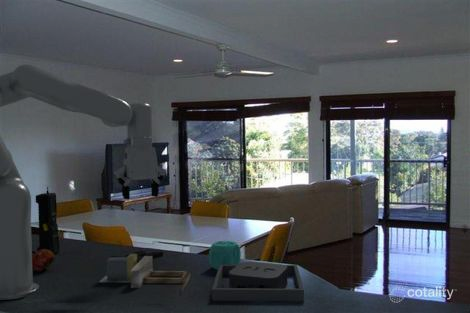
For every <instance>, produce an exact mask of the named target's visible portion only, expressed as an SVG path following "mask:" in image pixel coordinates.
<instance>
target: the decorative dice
mask: <svg viewBox="0 0 470 313" xmlns="http://www.w3.org/2000/svg"><path fill="white" fill-rule="evenodd" d="M241 252H242V251H241V248H240V246H239V244H238V243H237V242H236V241H233V240H219V241H215V242H213V243H212V244H211V246H210V248H209V251H208V262H209V264H210V266H211V267H212V268H213V269H214V270H216V271H218V269H219V266H220V265H239V264H240V263H241V262H240V261H241Z"/></svg>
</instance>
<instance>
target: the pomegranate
mask: <svg viewBox="0 0 470 313" xmlns="http://www.w3.org/2000/svg"><path fill="white" fill-rule="evenodd" d="M55 255H56V254H55ZM55 255H54V254H53V253H52V252H51V251H50V250H47V249H41V250H39V251H38V252H37V251H34V250H32V271H35V272H37V273H41V272H42V271H44V270H46V269H49V270H51V271H52V272H53V271H54V270H53V269H52V267H50V266H51V264H52V263H53V262H54V261H55V257H56V256H55Z"/></svg>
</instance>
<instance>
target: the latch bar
mask: <svg viewBox="0 0 470 313" xmlns="http://www.w3.org/2000/svg"><path fill="white" fill-rule="evenodd" d="M129 254H130V255H129V256H127V257H111V256H110V257H109V258H108V259H107V260H106V276H107V281H131V270H132V269H133V268H134V267H135V266H136V265H137V254H132V253H129Z"/></svg>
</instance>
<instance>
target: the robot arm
mask: <svg viewBox="0 0 470 313" xmlns="http://www.w3.org/2000/svg"><path fill="white" fill-rule="evenodd" d="M28 98H32V99H35V100H38V101H41V102H43V103H46V104H48V105H51V106H53V107H56V108H58V109H61V110H63V111H67V112H70V113H71V112H72V113H80V114H84V115H88V116H92V117H95V118H96V119H97V118H98V119H100V120H101V122H102V123H103V124H104V125H105V126H107V127H111V128H118V127H125V126H127V127H126V130H127V131H126V132H127V134H126V135H127V137H126V139H123V145H126V146H127V147H125V150H124V157H123V165H122V167H120V168H118V169H117V170H115V171H114V172H113V173H112V174H113V176H114V178H115V179H116V182H118V183H119V185H120V186H121V196H122V197H123V200H129V199H130V198H131V197H130V195H131V194H130V193H131V192H130V186H129V184H130V182H131V181H139V180H141V181H142V180H150V181H151V182H152V183H151V184H150V186H151V187H150V188H151V192H150V193H151V196H152V197H156V198H157V197H159V193H160V191H159V190H160V187H159V186H160V185H159V184H160V183H161V181H162V180H163V179H164V176H165V174H166V169H165V168H163V167H161V166H159V165H158V157H157V152H156V148H155V147H153V128H152V127H153V125H152V124H153V122H152V121H153V119H152V118H153V117H152V116H153V114H152V106H151V104H149V103H145V102H141V103H140V102H137V103H135V102H134V103H130V104H129V103H128V102H126V101H124V100H123V99H120V98H119V97H118V98H117V97H115V96H114V95H111V94H108V93H105V92H103V91H100V90H97V89H95V88H92V87H88V86H85V85H83V84H80V83H77V82H74V81H71V80H69V79H67V78H65V77H62V76H59V75H57V74H54V73H52V72H50V71H47V70H45V69H42V68H41V67H38V66H35V65H32V64H21V65H19V66H17V67H15V69H14V70H13V71H10V72H7V73H5V74H2V75H0V108H2V107H5V106H7V105H10V104H14V103H17V102H20V101H23V100H26V99H28ZM121 174H123V178H122V176H121ZM32 245H33V244H32V195H31V191H30V189H29V188H28V186H27V185H26V184H25V183H24V180H23V179H22V176H21V174H20V173H19V170H18V168H17V166H16V164H15V162H14V159H13V156H12V153H11V151H10V150H9V149H8V147H7V146H6V144H5V142H4V140H3V138H2V136H1V134H0V301H7V300H8V301H9V300H17V299H21V298H26V297H28V296H30V295H31V294H33V293H34V292H35V291H37V290H39V288H40V285H39V283H38V284H37V283H36V282H34V280H33V279H34V278H33V269H32V257H33V253H32V251H33V250H32V249H33V247H32Z"/></svg>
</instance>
